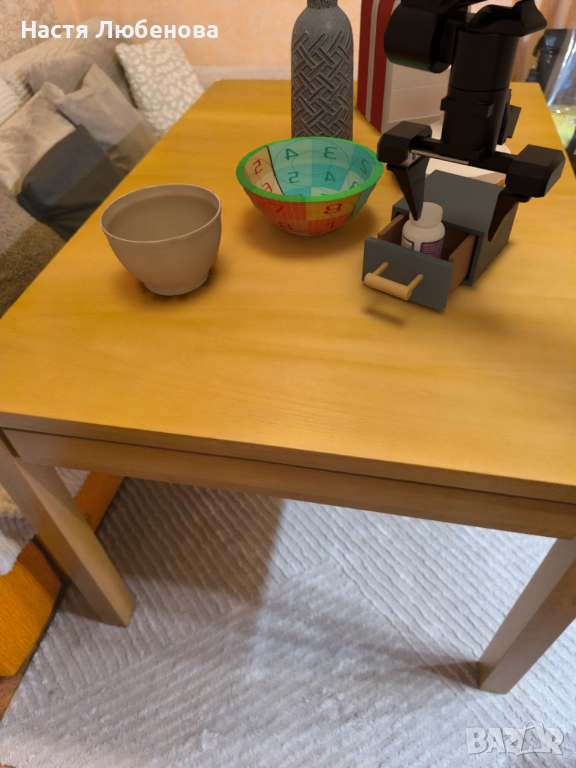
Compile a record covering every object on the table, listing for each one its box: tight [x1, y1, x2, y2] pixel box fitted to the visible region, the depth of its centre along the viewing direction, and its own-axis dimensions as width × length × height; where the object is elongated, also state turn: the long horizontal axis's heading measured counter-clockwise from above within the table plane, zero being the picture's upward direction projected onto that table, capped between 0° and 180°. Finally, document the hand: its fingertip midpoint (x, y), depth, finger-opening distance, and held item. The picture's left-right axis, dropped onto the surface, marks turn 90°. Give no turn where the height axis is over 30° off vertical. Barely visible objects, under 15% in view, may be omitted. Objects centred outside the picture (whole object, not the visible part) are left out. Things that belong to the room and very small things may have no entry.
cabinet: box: [390, 169, 520, 288], centre depth 77 cm, size 13×13×8 cm
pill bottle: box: [401, 202, 445, 259], centre depth 70 cm, size 5×5×10 cm
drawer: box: [361, 213, 479, 312], centre depth 71 cm, size 17×12×7 cm
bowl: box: [235, 137, 385, 237], centre depth 84 cm, size 22×22×10 cm
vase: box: [290, 0, 355, 142], centre depth 96 cm, size 12×12×28 cm
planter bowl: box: [99, 183, 223, 296], centre depth 75 cm, size 16×16×11 cm
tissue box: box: [355, 0, 472, 135], centre depth 109 cm, size 17×18×27 cm
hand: (452, 229), depth 62 cm, fingers open, 9 cm apart
